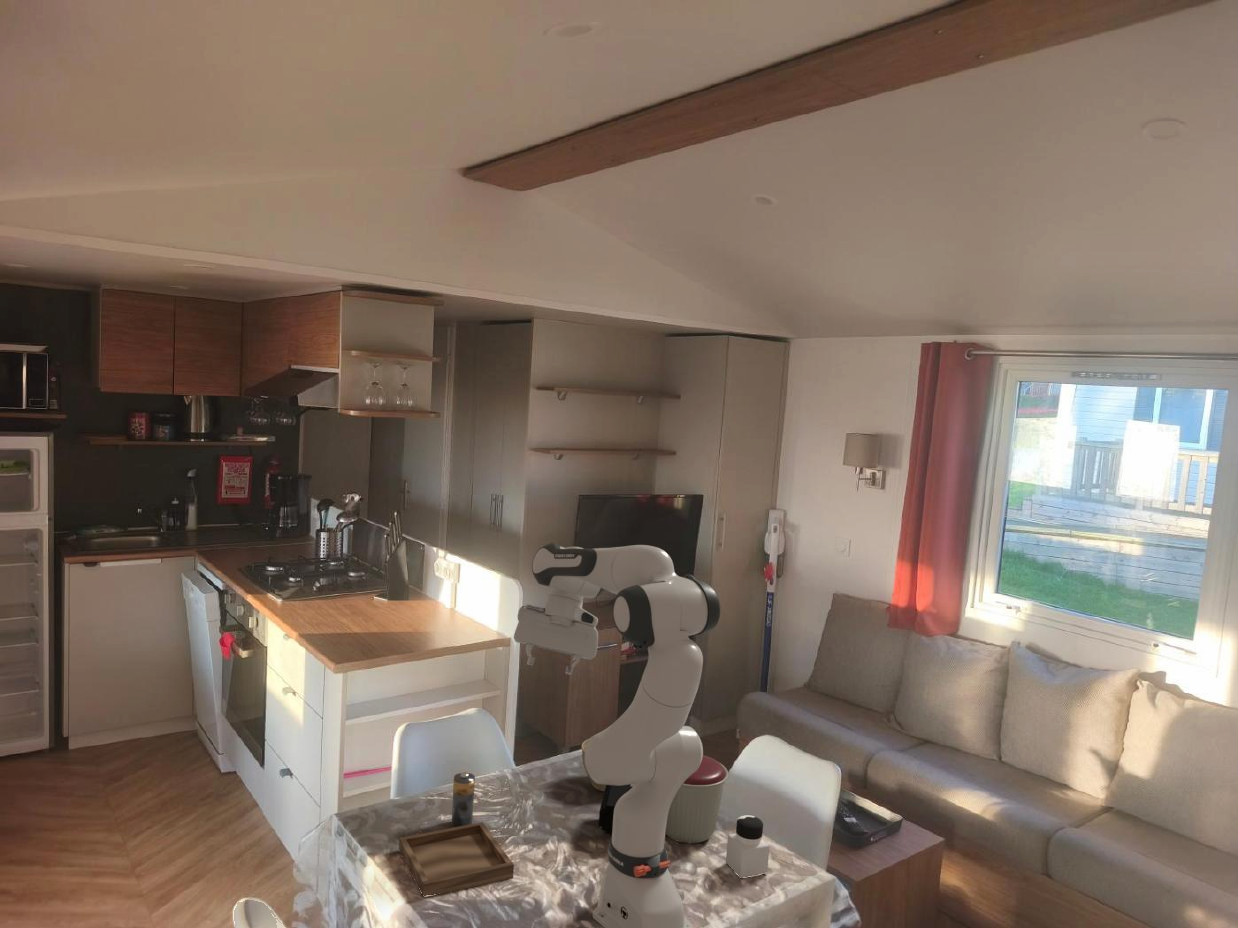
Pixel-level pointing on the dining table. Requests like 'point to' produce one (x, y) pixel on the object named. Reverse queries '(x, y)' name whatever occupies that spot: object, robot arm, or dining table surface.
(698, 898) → the dining table surface
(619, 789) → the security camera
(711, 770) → the canister
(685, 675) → the robot arm
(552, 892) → the dining table surface
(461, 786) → the cell
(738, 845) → the medicine bottle
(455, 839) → the tray
